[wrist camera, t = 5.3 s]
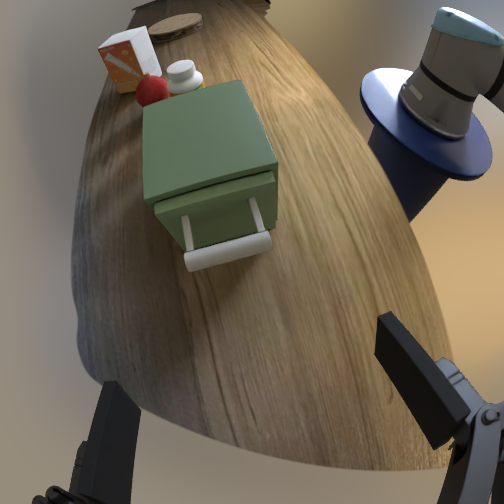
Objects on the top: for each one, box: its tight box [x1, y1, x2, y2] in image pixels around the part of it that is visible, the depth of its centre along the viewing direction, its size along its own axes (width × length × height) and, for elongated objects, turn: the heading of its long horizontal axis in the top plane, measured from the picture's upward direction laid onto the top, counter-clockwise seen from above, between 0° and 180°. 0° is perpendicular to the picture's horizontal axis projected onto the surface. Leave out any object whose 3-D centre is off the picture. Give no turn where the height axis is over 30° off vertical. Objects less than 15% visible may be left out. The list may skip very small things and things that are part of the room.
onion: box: [136, 73, 169, 107], centre depth 37 cm, size 6×6×8 cm
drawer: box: [154, 171, 276, 272], centre depth 27 cm, size 18×10×9 cm, turn 15°
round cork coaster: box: [147, 13, 203, 42], centre depth 54 cm, size 16×16×3 cm
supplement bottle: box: [167, 60, 205, 97], centre depth 35 cm, size 5×5×10 cm
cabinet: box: [142, 79, 278, 221], centre depth 29 cm, size 14×12×11 cm
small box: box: [98, 26, 162, 94], centre depth 39 cm, size 8×6×13 cm
